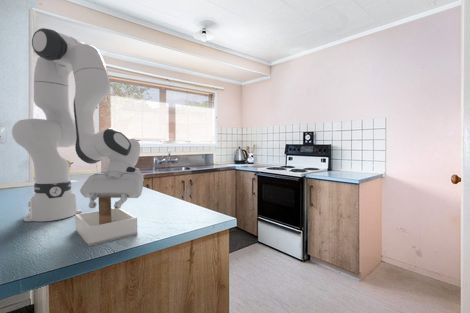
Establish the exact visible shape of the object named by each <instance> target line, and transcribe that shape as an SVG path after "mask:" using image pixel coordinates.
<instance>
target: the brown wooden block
mask: <svg viewBox="0 0 470 313" xmlns="http://www.w3.org/2000/svg"><path fill="white" fill-rule="evenodd" d="M97 200H98V211H99V225H101V224H106V223H111V208H112V198H111V197H110V196H103V197H99V198H98V199H97Z"/></svg>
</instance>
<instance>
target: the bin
mask: <svg viewBox="0 0 470 313" xmlns="http://www.w3.org/2000/svg"><path fill="white" fill-rule="evenodd" d="M74 216H75V217H74V219H75V232H76V233H77V234H78V235H79V237H81V239H82V241H84V243H85V244H86V245H87V246H88V247H93V246H96V245H100V244H105V243H109V242H113V241H117V240H121V239H125V238H129V237H133V236H137V235H138V217H136V216H135V215H133V214H131V213H129V212H128V211H126V210H124V209H123V208H122V207H121V208H120V209H118V208H115V207H111V223H106V224H101V225H99V210H94V211H87V212H83V213H82V212H80V213H77V214H75V215H74Z"/></svg>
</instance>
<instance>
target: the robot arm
mask: <svg viewBox="0 0 470 313" xmlns="http://www.w3.org/2000/svg"><path fill="white" fill-rule="evenodd" d="M31 46H32V49H33V52H34V53H35V54H36V55H37V56H39V57H38V58H37V59H36V62H35V66H34V73H33V103H34V105H35V106H36V107H38V109H40V110H42V112H43V113H44V116H45V117H46V119H44V118H26V119H25V118H23V119H20V120H19V119H18V120H17V121H16V122H15V123H14V124H13V126H12V129H11V135H12V139H13V140H14V142H15V143H16V144H17V145H19V146H20V147H22V149H25V151H27V153H28V154H29V156H30V158H31V160H32V162H33V166H34V177H35V183H34V186H33V190H34V191H33V192H34V195H33V196H32V197H31V198H30V199H29V201H28V203H27V204H28V205H27V206H28V208H29V209H28V210H29V212H28V213H27V214H26V216H25V217H24V218H23V222H51V221H57V220H62V219H68V218H70V217H73V216H75V214H81V213H82V209H80V208H78V206H77V196H76V193H75V192H73V191H72V190H71V189H72V181H71V180H70V179H71V178H70V164H69V162H68V160H67V159H66V158H64V157H62V156H61V155H60V154H59V152H58V148H70V147H75V153H76V155H77V157H78V158H79V159H80V160H82V161H83V162H85V163H87V164H90V165H92V164H93V165H94V164H97V163H98V162H100V161H102V160H104V159H105V160H106V159H109V163H108V165H107V167H106V170H105V171H104V173H93V174H92V175H90V176H88V177H87V179H85V180H86V181H84V183H83V185H81V188H80V189H79V192H80V194H81V195H82V196H83V197H84V198H88V199H89V202H88V208H89V209H95V208H96V207H97V205H98V204H97V202H96V200H98V199H97V198H99V197H103V196H110V197H111V199H113V198H114V199H119V200H117V201H115V203H114V204H113V208H118V209H120V208H121V209H122V205H124V203H126V202H127V200H128V199H138V198H140V197H141V195H142V192H143V188H144V184H143V182H144V176H143V174H142V172H141V170H140V169H139V168H138V167H136V165H137V163H138V161H139V158H140V154H141V144H140V143H139V141H138V140H137V139H136V138H134V137H133V136H126V135H125V134H123V132H121V130H118V129H116V128H113V127H109V128H106V129H103V130H101V131H98V132H95V122H94V114H95V111H96V108H97V107H98V106H99V105H100V103H101V102H102V101H103V100H104V99H106V97H107V96H108V94H109V92H110V89H111V82H110V78H109V74H108V70H107V66H106V63H105V61H104V58H103V56H102V55H101V53H100V51H99V49H97V47H95V46H93V45H92V44H90V43H89V44H88V43H84V42H82V41H80V40H78V39H77V38H74V37H72V36H69V35H65V34H63V33H61V32H57V31H56V30H54V29H50V28H44V27H43V28H39V29H37V30H36V31H35V32H34V33H33V35H32V38H31ZM71 72H73V75H74V85H75V93H74V99H73V114H74V117H73V115H72V112H71V108H70V102H69V101H70V100H69V98H70V97H69V76H70V74H71Z"/></svg>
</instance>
